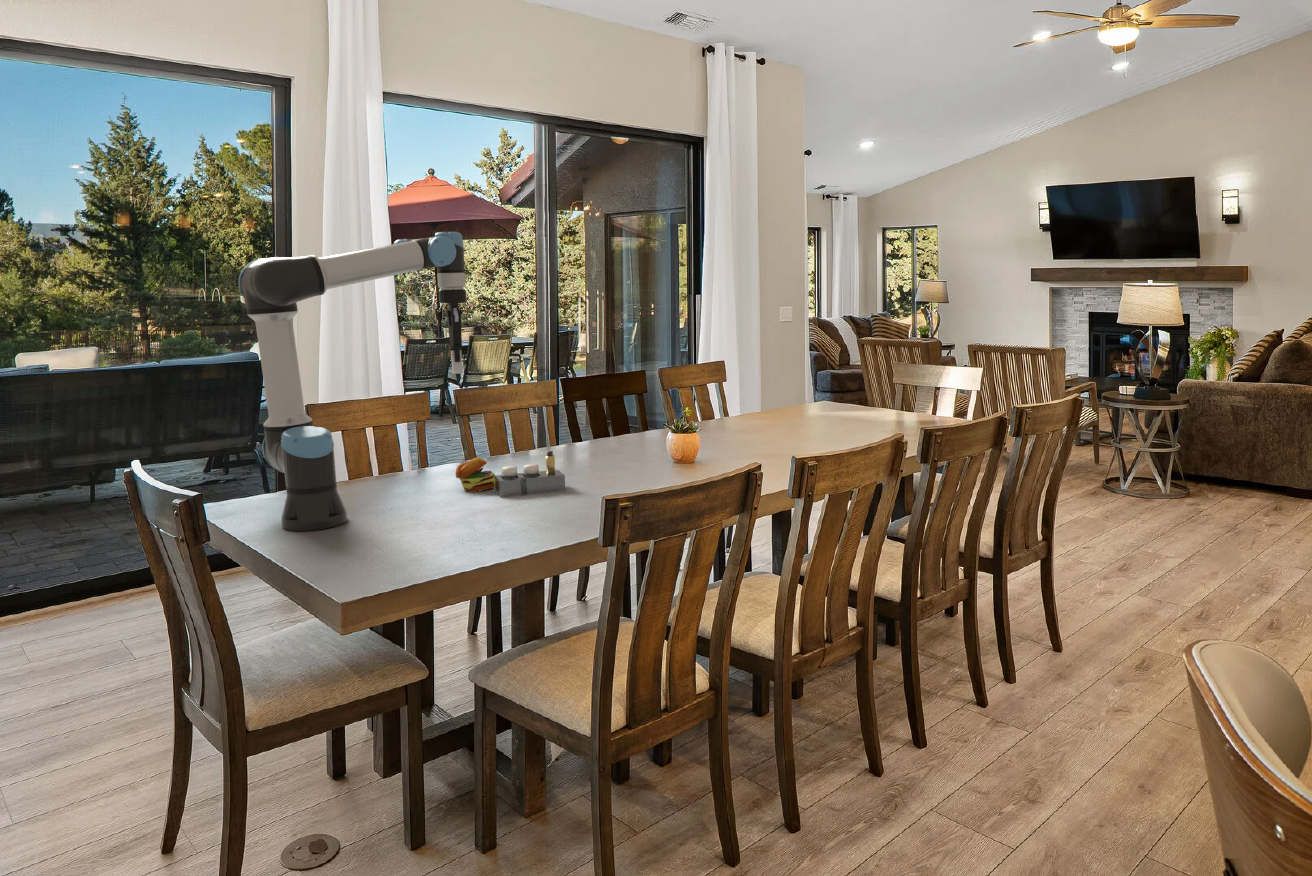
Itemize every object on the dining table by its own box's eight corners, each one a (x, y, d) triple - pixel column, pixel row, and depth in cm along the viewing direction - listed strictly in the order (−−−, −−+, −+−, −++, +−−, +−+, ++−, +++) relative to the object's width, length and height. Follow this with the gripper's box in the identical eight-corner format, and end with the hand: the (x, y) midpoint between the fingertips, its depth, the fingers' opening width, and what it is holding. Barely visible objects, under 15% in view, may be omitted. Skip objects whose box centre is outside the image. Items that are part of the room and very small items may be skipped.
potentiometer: (547, 474, 255) (546, 452, 254) (545, 472, 257) (544, 451, 256) (556, 473, 256) (555, 451, 255) (554, 472, 258) (553, 450, 257)
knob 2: (526, 491, 253) (524, 467, 252) (523, 488, 257) (521, 464, 256) (541, 490, 254) (539, 466, 253) (538, 487, 258) (536, 463, 257)
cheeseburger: (495, 491, 255) (484, 457, 254) (459, 501, 256) (448, 468, 254) (502, 483, 265) (491, 450, 264) (466, 493, 266) (456, 460, 264)
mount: (500, 497, 249) (499, 481, 248) (495, 491, 256) (494, 475, 256) (565, 490, 255) (564, 474, 254) (559, 485, 262) (558, 469, 261)
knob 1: (504, 493, 251) (502, 469, 250) (501, 490, 255) (500, 466, 254) (519, 492, 252) (518, 468, 251) (516, 489, 256) (515, 465, 255)
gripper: (468, 288, 251) (474, 374, 255) (463, 288, 263) (468, 370, 267) (440, 289, 249) (446, 376, 253) (436, 289, 261) (441, 372, 265)
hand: (457, 373), depth 260 cm, fingers closed
